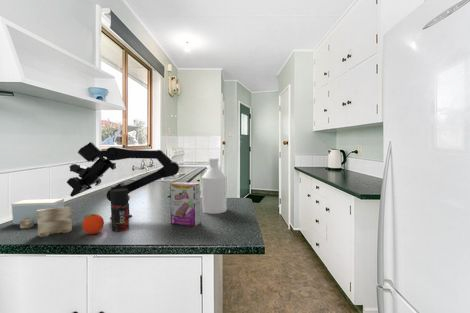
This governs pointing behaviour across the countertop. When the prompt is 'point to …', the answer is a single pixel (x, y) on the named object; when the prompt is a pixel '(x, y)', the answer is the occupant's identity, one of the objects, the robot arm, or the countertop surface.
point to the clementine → (92, 223)
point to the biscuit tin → (33, 208)
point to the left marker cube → (27, 223)
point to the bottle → (214, 189)
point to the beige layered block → (54, 220)
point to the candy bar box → (185, 203)
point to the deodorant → (119, 210)
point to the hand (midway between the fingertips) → (71, 195)
